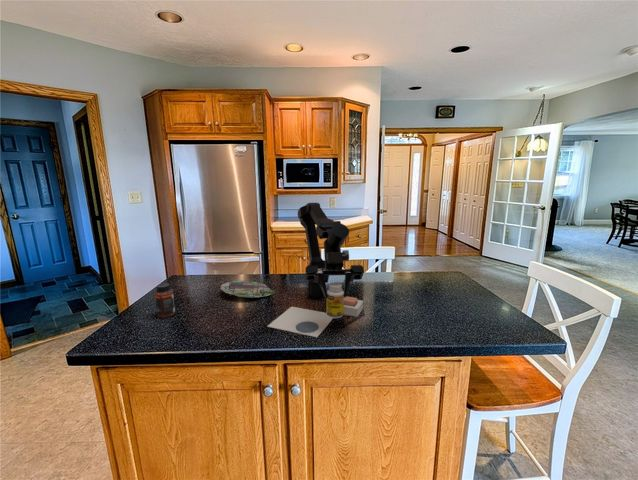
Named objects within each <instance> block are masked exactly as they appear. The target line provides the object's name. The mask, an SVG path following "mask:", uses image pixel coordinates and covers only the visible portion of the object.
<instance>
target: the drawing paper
mask: <svg viewBox="0 0 638 480" xmlns="http://www.w3.org/2000/svg"><path fill="white" fill-rule="evenodd" d="M333 319H334V318H331V317H329V316H327V314H326V311H325V312H324V311H319V310H313V309H307V308H303V307H298V306H297V307H296V306H290V307H289V308H288V309H287V310H285V311H284V312H283V313H282V314H281V315H279V316H278V317H276V318H275V319H274V320H272V322H270V323H269V324H268V325H267V328H271V329H272V328H273V329H277V330H280V331H281V330H282V331H285V332H290V333H295V334H298V335H304V336H309V337H312V338H318V337H319V336H320V335H321V333H322V332H324V330H325V329H326V328H327V326H328V325H329V324H330V323H331V321H333Z"/></svg>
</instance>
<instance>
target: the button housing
mask: <svg viewBox="0 0 638 480" xmlns="http://www.w3.org/2000/svg"><path fill="white" fill-rule="evenodd" d="M344 299H345V297H344ZM363 310H364V300H361V299H357V304H356V306H355V307H353V306H347V305H344V314H343V316H344V315H345V316H349V317H355V318H358V317H359V315H360V314H361V312H362V311H363Z"/></svg>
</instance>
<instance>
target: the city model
mask: <svg viewBox="0 0 638 480" xmlns="http://www.w3.org/2000/svg"><path fill="white" fill-rule="evenodd" d="M220 290H221V291H223V292H224V293H225V294H227V295H228V296H229V297H230V296H235V297H238V298H239V297H240V298H241V297H242V298H252V299H253V298H262V297H263V298H264V297H267V296H270V295H275V290H274V289H272V288H270V287H269V286H267V285H266V284H264V283H261V282H260V280H259V279H258V280H257V281H251V280H250V281H248V280H247V281H246V280H245V281H244V280H233V281H229V282H225V283H222V284H221V285H220Z"/></svg>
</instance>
